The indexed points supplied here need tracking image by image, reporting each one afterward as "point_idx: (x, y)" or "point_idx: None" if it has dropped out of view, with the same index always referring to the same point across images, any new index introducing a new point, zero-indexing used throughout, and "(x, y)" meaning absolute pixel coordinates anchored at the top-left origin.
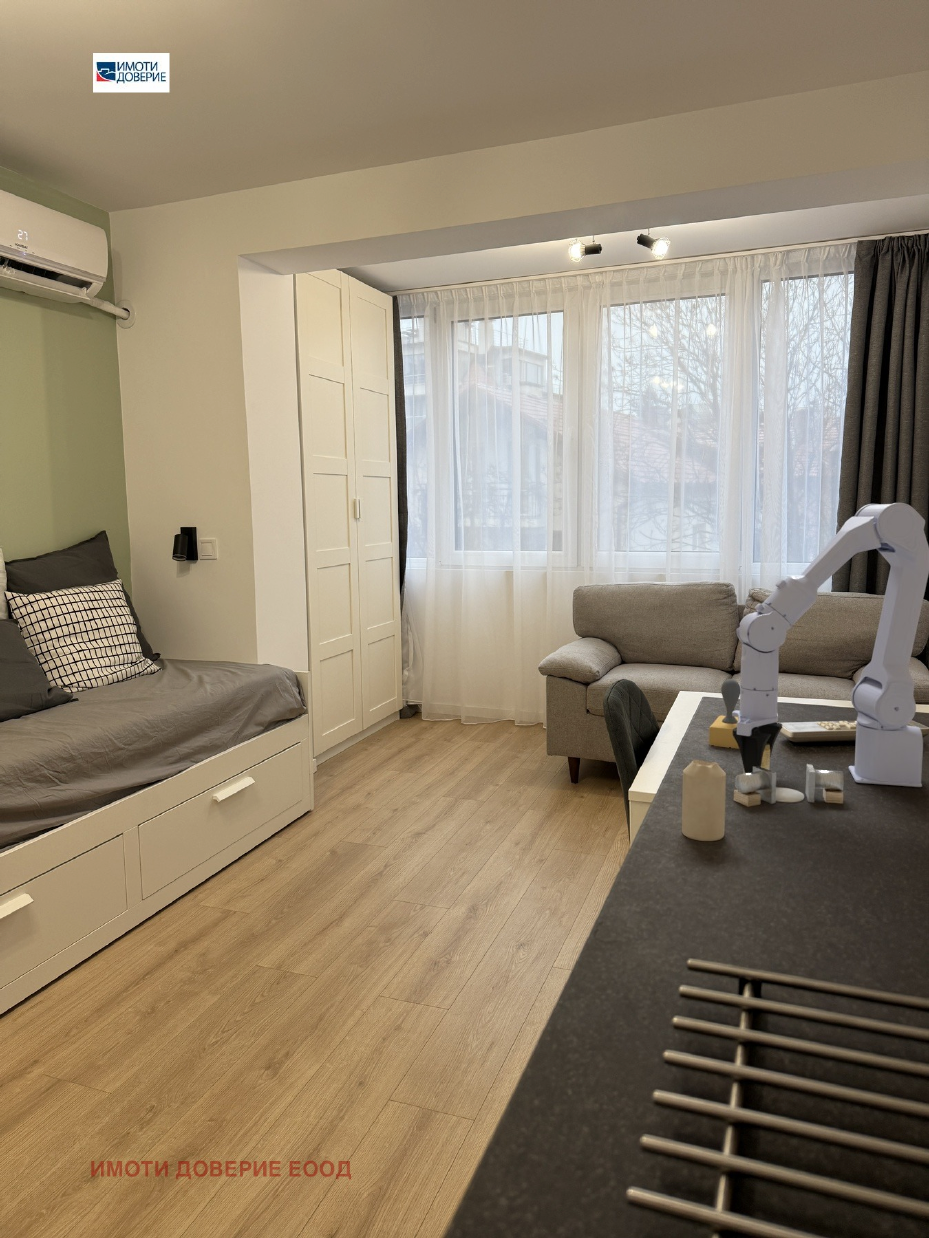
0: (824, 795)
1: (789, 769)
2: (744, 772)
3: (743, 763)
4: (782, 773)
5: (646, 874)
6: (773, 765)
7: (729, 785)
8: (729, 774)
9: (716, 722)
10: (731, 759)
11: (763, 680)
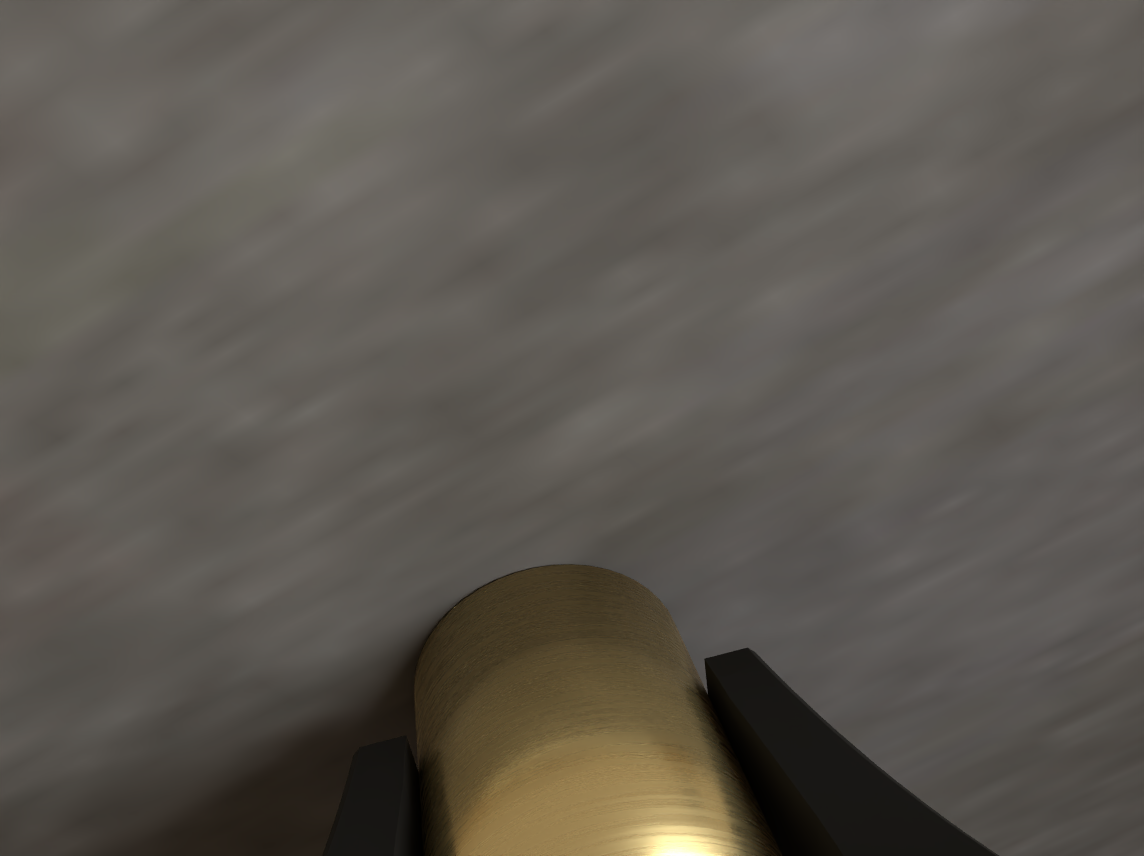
0: None
1: (1021, 691)
2: (445, 672)
3: (327, 845)
4: (865, 720)
5: None
6: (1083, 548)
7: (71, 658)
8: (465, 434)
9: None
10: (1117, 93)
11: None
